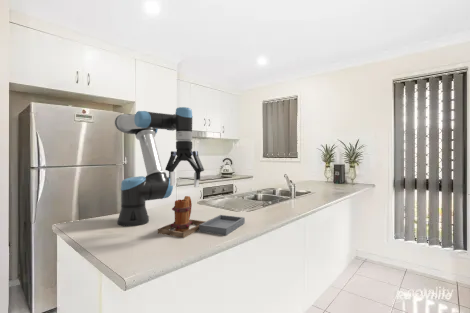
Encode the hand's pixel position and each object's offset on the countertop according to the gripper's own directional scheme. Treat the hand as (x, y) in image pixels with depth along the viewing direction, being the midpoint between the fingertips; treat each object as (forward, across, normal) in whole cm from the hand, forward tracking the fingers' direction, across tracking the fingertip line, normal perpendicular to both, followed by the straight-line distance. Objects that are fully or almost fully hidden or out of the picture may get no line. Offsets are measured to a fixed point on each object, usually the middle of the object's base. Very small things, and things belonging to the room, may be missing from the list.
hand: (184, 186), depth 118 cm
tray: (+20, +15, +11) cm, 28 cm away
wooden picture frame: (+20, 0, 0) cm, 20 cm away
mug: (+21, 0, 0) cm, 21 cm away
